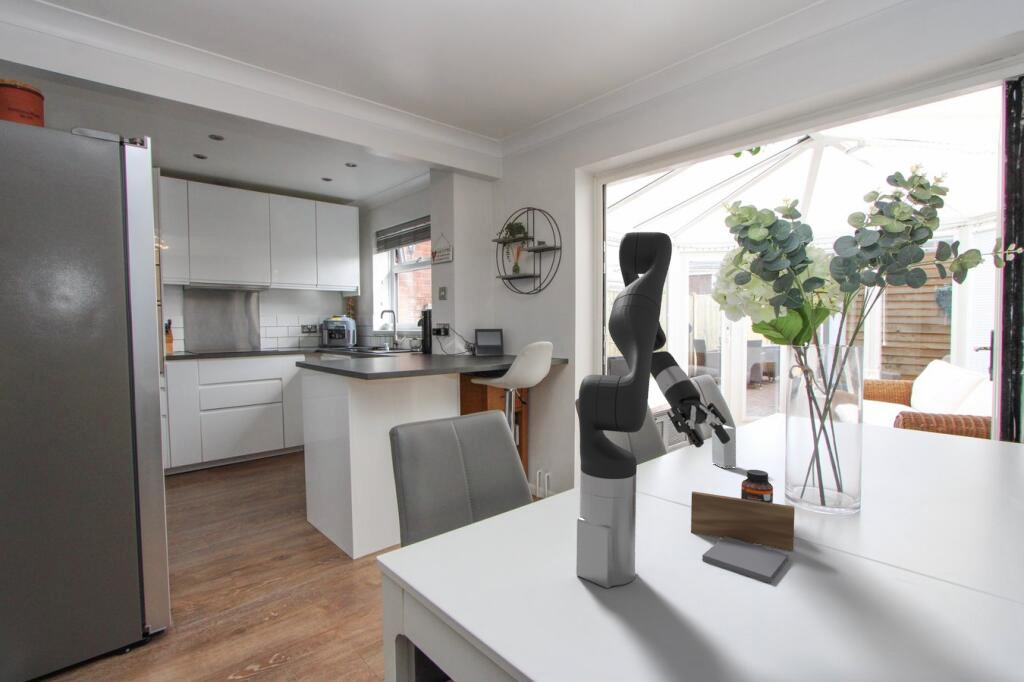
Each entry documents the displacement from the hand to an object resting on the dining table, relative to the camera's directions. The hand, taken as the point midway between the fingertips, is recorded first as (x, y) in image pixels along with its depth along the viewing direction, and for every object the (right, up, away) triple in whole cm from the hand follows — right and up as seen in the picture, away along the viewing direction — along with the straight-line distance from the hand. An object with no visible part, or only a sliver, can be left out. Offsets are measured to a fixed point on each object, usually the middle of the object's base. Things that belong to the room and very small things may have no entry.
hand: (714, 443), depth 111 cm
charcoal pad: (-5, -15, -25) cm, 30 cm away
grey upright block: (+17, -14, +34) cm, 41 cm away
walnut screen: (-2, -15, -17) cm, 23 cm away
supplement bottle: (+5, -15, -9) cm, 19 cm away
